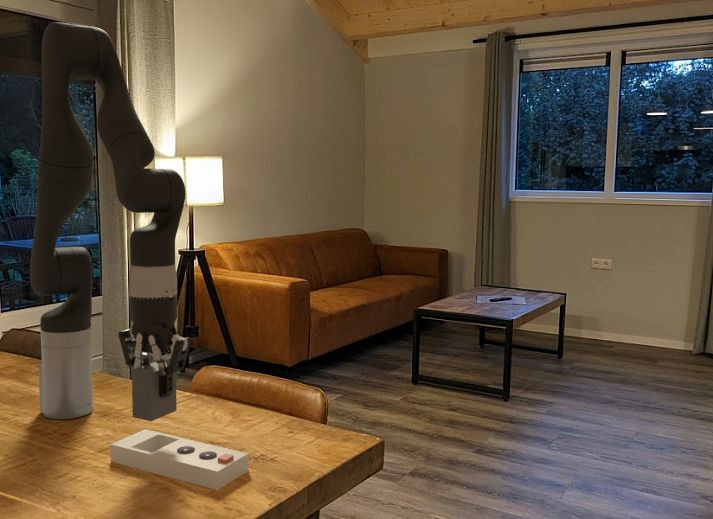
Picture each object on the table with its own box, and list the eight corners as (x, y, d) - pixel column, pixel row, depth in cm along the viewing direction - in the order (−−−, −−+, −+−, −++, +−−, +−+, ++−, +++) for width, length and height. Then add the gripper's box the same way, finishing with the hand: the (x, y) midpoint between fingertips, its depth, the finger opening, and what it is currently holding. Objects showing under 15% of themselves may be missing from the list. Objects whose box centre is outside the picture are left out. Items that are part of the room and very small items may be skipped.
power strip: (107, 460, 116) (106, 439, 115) (141, 444, 123) (141, 425, 122) (217, 490, 105) (217, 467, 105) (248, 471, 113) (248, 449, 112)
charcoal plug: (132, 417, 113) (131, 369, 112) (158, 406, 119) (157, 361, 118) (151, 421, 112) (150, 373, 111) (176, 410, 117) (176, 364, 116)
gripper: (103, 291, 113) (105, 393, 115) (171, 299, 106) (172, 407, 108) (137, 285, 119) (138, 382, 121) (203, 292, 113) (203, 394, 115)
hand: (154, 393), depth 115 cm, fingers closed on charcoal plug, 4 cm apart
